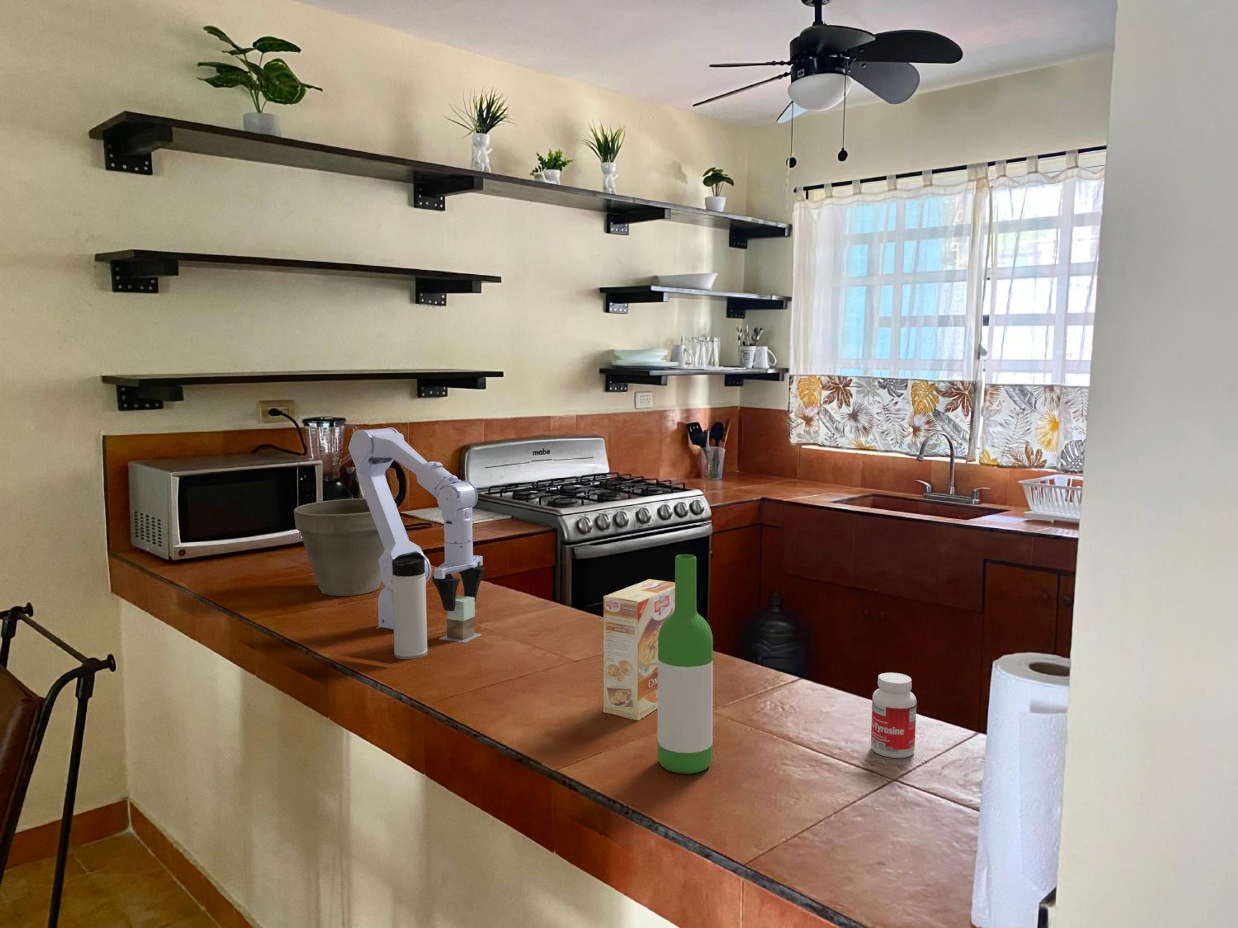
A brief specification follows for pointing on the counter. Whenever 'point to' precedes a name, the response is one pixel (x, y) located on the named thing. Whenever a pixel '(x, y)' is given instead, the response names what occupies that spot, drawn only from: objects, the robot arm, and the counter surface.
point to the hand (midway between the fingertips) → (460, 606)
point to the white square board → (461, 640)
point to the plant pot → (341, 545)
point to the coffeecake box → (634, 646)
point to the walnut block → (460, 629)
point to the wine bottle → (685, 679)
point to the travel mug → (409, 606)
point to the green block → (463, 609)
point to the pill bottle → (893, 716)
